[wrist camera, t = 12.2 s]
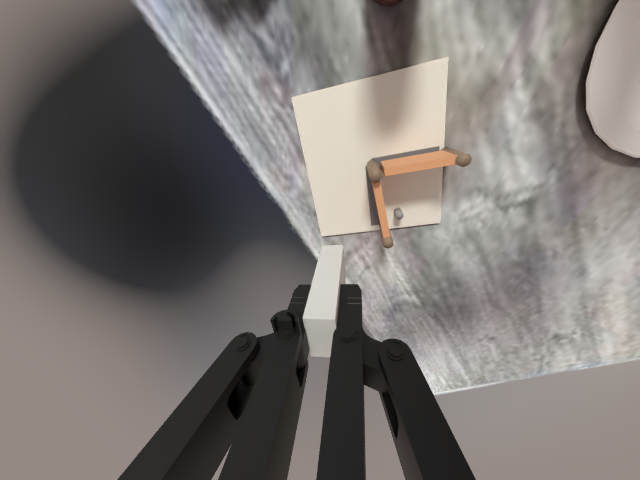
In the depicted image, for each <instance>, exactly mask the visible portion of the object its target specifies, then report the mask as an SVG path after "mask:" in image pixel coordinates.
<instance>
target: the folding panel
mask: <svg viewBox="0 0 640 480" xmlns="http://www.w3.org/2000/svg"><path fill="white" fill-rule="evenodd" d="M372 186H373V191H374V196H375V201H376V206H377V211H378V216H379V221H380V224H379V227H380V231H381V236H382V241H383V245H384V247H386V248H391V247H392V246H393V240H392V237H391V233H390V230H389V226H388V221H387V215H386V210H385V204H384V199H383V193H382V188H381V182H380V180H379V181H378V182H372Z"/></svg>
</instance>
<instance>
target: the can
mask: <svg viewBox="0 0 640 480" xmlns="http://www.w3.org/2000/svg"><path fill="white" fill-rule="evenodd" d="M374 1H375V2H377V3H379V4H381V5H386V6H392V5H394V4H397V3H400V2H401V1H402V0H374Z"/></svg>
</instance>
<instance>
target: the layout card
mask: <svg viewBox="0 0 640 480" xmlns="http://www.w3.org/2000/svg"><path fill="white" fill-rule="evenodd" d="M447 73H448V57H446V58H442V59H438V60H434V61H430V62H426V63H422V64H419V65H415V66H411V67H407V68H403V69H399V70H395V71H391V72H388V73H384V74H380V75H376V76H372V77H368V78H364V79H360V80H357V81H353V82H349V83H345V84H341V85H337V86H333V87H330V88H326V89H322V90H318V91H314V92H310V93H306V94H302V95H299V96H295V97H291V98H292V103H293V107H294V112H295V117H296V121H297V126H298V130H299V135H300V140H301V144H302V149H303V153H304V158H305V163H306V167H307V172H308V176H309V181H310V185H311V190H312V195H313V199H314V204H315V208H316V213H317V218H318V222H319V227H320V231H321V236H330V235H339V234H348V233H356V232H365V231H374V230H380V227H379V224H380V221H379V216H378V211H377V206H376V201H375V196H374V191H373V186H372V181H371V180H370V179H369V175H368V171H367V166H366V165H367V162H368V161H369V160H375V161H376V162H377V164H378V166H379V168H380V170H381V165H380V161H385V160H390V159H396V158H402V157H407V156H413V155H418V154H424V153H430V152H435V151H441V149H443V148H444V135H445V114H446V94H447ZM381 172H382V170H381ZM442 176H443V167H438V168H432V169H426V170H419V171H413V172H407V173H401V174H395V175H389V176H384V174H383V172H382V178H381V179H380V182H381V188H382V193H383V199H384V204H385V210H386V215H387V221H388V226H389V229H391V228H400V227H409V226H417V225H426V224H435V223H440V218H441V197H442Z"/></svg>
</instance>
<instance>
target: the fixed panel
mask: <svg viewBox="0 0 640 480" xmlns="http://www.w3.org/2000/svg"><path fill="white" fill-rule="evenodd" d="M470 162H471V156H470V155H469V154H466V153H463V152H460V151H457V150H454V149H450V148H447V147H445V148H443V149H441V151H435V152H430V153H424V154H418V155H413V156H407V157H402V158H396V159H390V160H385V161H380V165H381V170H382V172H383V174H384V176H389V175H395V174H401V173H407V172H413V171H419V170H426V169H432V168H438V167H444V166H450V165H456V164H457V165H459V166H462V167H465V166H467V165H469V164H470ZM366 166H367V171H368V175H369V179H370V180H371V181H372V182H378V181H379V180H380V179H381V178H382V172H381V170H380V168H379V166H378V164H377V162H376V161H375V160H369V161H368V162H367V165H366Z"/></svg>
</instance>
